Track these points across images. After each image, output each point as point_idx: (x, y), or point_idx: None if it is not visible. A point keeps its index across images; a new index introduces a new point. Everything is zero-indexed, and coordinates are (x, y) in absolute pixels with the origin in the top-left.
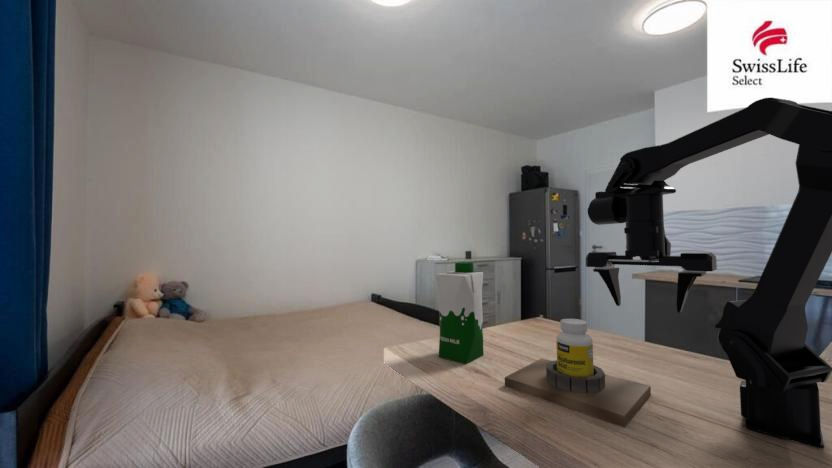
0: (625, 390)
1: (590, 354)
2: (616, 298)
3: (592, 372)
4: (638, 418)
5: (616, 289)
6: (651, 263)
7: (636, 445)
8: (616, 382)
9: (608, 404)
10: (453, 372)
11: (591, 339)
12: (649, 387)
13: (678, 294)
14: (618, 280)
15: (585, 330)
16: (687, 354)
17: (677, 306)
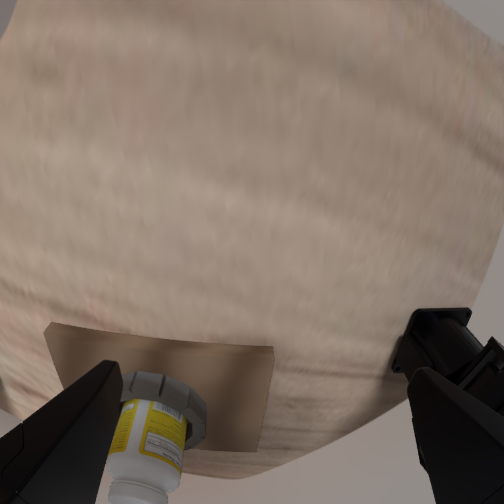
0: (239, 400)
1: (182, 462)
2: (110, 431)
3: (185, 428)
4: (266, 418)
5: (90, 472)
6: None
7: (272, 455)
8: (215, 379)
9: (231, 442)
10: (19, 403)
11: (176, 480)
12: (273, 365)
13: (434, 480)
14: (33, 484)
15: (167, 500)
16: None
17: (415, 420)
